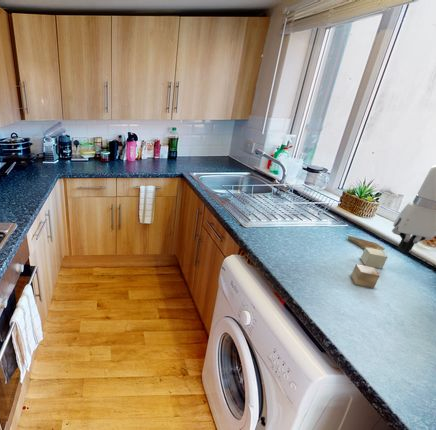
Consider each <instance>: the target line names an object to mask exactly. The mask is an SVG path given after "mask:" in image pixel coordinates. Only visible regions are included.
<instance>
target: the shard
mask: <svg viewBox="0 0 436 430" xmlns="http://www.w3.org/2000/svg"><path fill="white" fill-rule="evenodd" d="M347 239H348V240H350V242H352V243H354V244H355V245H357V246H359V247H361V248H362V249H364V250H365V247H366V248H372V249H378V250H382V251H383V252H384V250H385V247H384V246H381V245H380V244H379V243H376V242H373V241H370V240H366V239H362V238H359V237H354V236H350V235H347Z"/></svg>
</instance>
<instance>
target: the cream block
mask: <svg viewBox="0 0 436 430" xmlns="http://www.w3.org/2000/svg"><path fill="white" fill-rule="evenodd" d="M387 259H388V256H387V254H386V253H385V252H384V250H383V251H382V250H378V249H372V248H366V247H365V249H364V250H363V251H362V254H361V256H360V260H361V262H362V263H363V265H364V266H369V267H374V268H375V269H383V267H384V265H385V263H386V261H387Z"/></svg>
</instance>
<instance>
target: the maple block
mask: <svg viewBox="0 0 436 430" xmlns="http://www.w3.org/2000/svg"><path fill="white" fill-rule="evenodd" d="M350 277H351V279H352V281H353V283H354V285H357V286H361V287H365V288H369V289H370V288H371V289H374V288H375V287H376V285H377V282H378V281H379V279H380V277H381V276H380V274H379V272H378V271H377V270H376V267H371V266H365V265H364V264H359V263H356V264H355V265H354V267H353V269H352V272H351V274H350Z"/></svg>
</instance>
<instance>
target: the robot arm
mask: <svg viewBox="0 0 436 430" xmlns="http://www.w3.org/2000/svg"><path fill="white" fill-rule="evenodd" d="M392 224H393V227H394V228H392V230H391V232H392V234H394V235H397V236H399V237H400V238H401V240H400V241H399V244H398V245H397V246H398V250H399V251H400V252H401V253H405V254H408V253H410V251H412V250H413V248H414V246H415V244H416V245H417V244H418V243H420V242H422V241H432V240H434V238H435V237H436V164H434V165H432V166H431V168H430V169H429V171H428V173H427V174H426V177H425V179H423V182H422V184H421V186H420V187H419V190H418V191H417V193H416V195H415V197H414V198H413V201H412V202H408V203H407V204H406V205H405V206H404V208H403V209H402V210H401V211H400V212H399V214H398V215H397V217H396V219H395V221H394V222H393V223H392Z"/></svg>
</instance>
